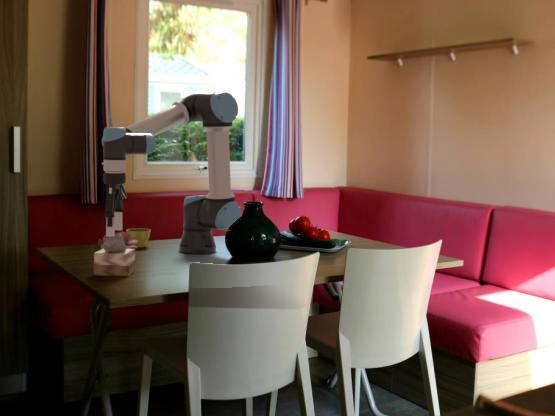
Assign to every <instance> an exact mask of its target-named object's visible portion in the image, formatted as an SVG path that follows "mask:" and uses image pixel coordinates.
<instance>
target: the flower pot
mask: <svg viewBox="0 0 555 416" xmlns="http://www.w3.org/2000/svg"><path fill="white" fill-rule="evenodd" d="M125 232H130V236H131V237H130V240H129V241H132V240H138V243H137V244H136V245H135V246H138V248H144V247H146V246H147V243H148V241H149V239H150V236H151V232H152V231H151V229H150V228H145V227H144V228H141V227H139V228H138V227H137V228H127V229H126V231H125ZM138 248H137V249H138Z"/></svg>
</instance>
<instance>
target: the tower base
mask: <svg viewBox="0 0 555 416" xmlns="http://www.w3.org/2000/svg"><path fill="white" fill-rule="evenodd" d="M136 262H137V261H136V258H135V260H134V261H133V262H131V263H129V264H128V265H126V266H116V265H95V264H94V263H93V276H106V277H109V276H110V277H113V276H114V277H117V276H118V277H129V276H131V274H132V273H134V271H136V269H137V267H136V265H137V264H136Z"/></svg>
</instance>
